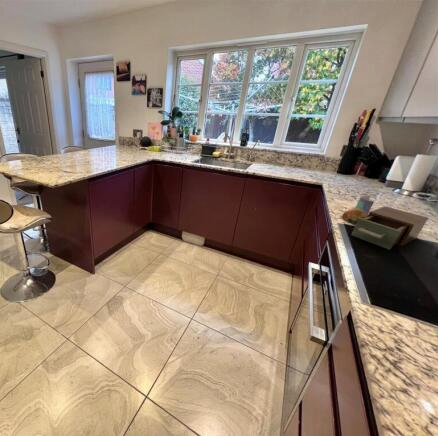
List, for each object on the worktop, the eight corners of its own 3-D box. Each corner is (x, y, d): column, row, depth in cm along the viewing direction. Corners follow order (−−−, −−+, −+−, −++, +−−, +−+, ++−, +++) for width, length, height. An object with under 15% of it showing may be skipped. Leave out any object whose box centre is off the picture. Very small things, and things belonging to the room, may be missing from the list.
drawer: (384, 253, 85) (394, 234, 82) (345, 237, 95) (352, 220, 92) (404, 241, 94) (415, 224, 90) (366, 228, 104) (374, 212, 100)
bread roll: (365, 231, 111) (377, 217, 109) (355, 225, 107) (368, 210, 105) (344, 222, 120) (355, 209, 118) (334, 216, 116) (345, 202, 113)
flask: (367, 218, 117) (377, 198, 113) (360, 217, 118) (369, 197, 114) (357, 211, 126) (366, 192, 121) (351, 210, 126) (359, 192, 122)
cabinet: (401, 246, 92) (414, 224, 88) (359, 231, 103) (369, 211, 99) (416, 238, 99) (428, 217, 95) (375, 225, 110) (385, 206, 106)
